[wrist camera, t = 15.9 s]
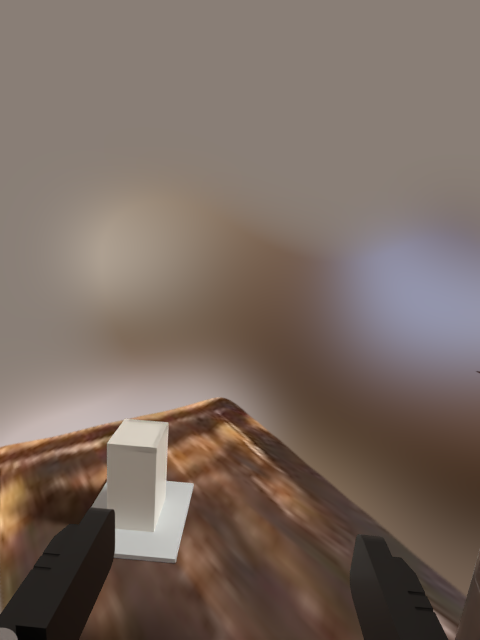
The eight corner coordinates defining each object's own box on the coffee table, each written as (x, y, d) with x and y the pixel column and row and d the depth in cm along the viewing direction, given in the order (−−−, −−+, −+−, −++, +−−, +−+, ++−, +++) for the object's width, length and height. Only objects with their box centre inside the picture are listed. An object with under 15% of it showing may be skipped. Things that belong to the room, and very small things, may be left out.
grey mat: (110, 479, 52) (110, 475, 52) (193, 486, 52) (193, 483, 52) (65, 553, 40) (65, 548, 40) (175, 563, 40) (175, 559, 39)
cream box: (124, 494, 49) (125, 418, 46) (165, 498, 49) (168, 422, 46) (107, 528, 43) (107, 443, 40) (153, 532, 43) (156, 447, 40)
